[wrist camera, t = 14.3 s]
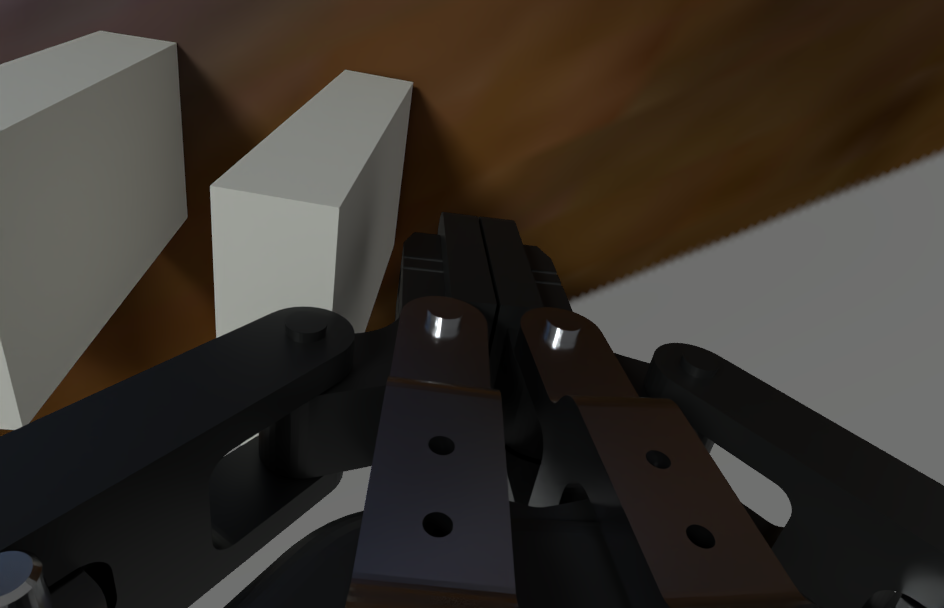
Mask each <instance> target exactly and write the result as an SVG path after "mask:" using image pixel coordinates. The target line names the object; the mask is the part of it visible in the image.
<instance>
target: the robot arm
mask: <svg viewBox="0 0 944 608" xmlns="http://www.w3.org/2000/svg"><path fill="white" fill-rule="evenodd" d="M556 273H557V272H556V270H555V267H554V265H553V262H552V260H551V258H549V257H548V256H547V255H546V254H545V253H544V252H543V251H541V250H540V249H539V248H538V247H537V246H530V245H523V244H522V241H521V238H520V235H519V232H518V229H517V226H516V223H515V221H513V220H505V219H496V218H488V217H479V218H478V217H477V216H471V215H463V214H455V213H447V212H442V213H441V217H440V221H439V227H438V234H437V235H434V234H426V233H417V232H414V233H413V234H412V235H411V236H410V237H409V238H408V239H407V240H406V241H405V242H404V245H403V253H402V261H401V270H400V278H399V286H398V294H397V303H396V319H395V321H394V322H393V323H392V324H390V325H388V326H387V327H384V328H382V329H379V330H375V331H370V332H363V333H354V329H353V326H352V325H351V324H350V322H349V321H348V320H347V319H345V318H344V317H343V316H341V315H339V314H337V313H335V312H333V311H330V310H327V309H322V308H317V307H303V306H302V307H291V308H285V309H281V310H278V311H275V312H273V313H270V314H268V315H266V316H264V317H262V318H259V319H257V320H255V321H253V322H251V323H249V324H246V325H244V326H242V327H240V328H238V329H235V330H233V331H231V332H229V333H227V334H224V335H222V336H220V337H218V338H216V339H213V340H211V341H209V342H207V343H205V344H202V345H200V346H198V347H196V348H194V349H192V350H189V351H187V352H185V353H183V354H181V355H178V356H176V357H174V358H172V359H170V360H167V361H165V362H163V363H161V364H159V365H156V366H154V367H152V368H150V369H148V370H145V371H143V372H141V373H139V374H137V375H135V376H132V377H130V378H128V379H126V380H124V381H121V382H119V383H117V384H115V385H113V386H110V387H108V388H106V389H104V390H102V391H99V392H97V393H95V394H93V395H91V396H88V397H86V398H84V399H82V400H80V401H77V402H75V403H73V404H71V405H69V406H67V407H64V408H62V409H60V410H58V411H56V412H53V413H51V414H49V415H47V416H45V417H42V418H40V419H38V420H36V421H34V422H31V423H29V424H27V425H25V426H23V427H20V428H18V429H16V430H14V431H12V432H10V433H7V434H5V435H3V436H1V437H0V608H188V607H189V606H190V605H191V604H193V603H194V602H195V601H196V600H198V599H199V598H200V597H201V596H203V595H204V594H205V593H206V592H208V591H209V590H210V589H211V588H213V587H214V586H215V585H216V584H217V583H219V582H220V581H221V580H222V579H224V578H225V577H226V576H227V575H229V574H230V573H231V572H232V571H234V570H235V569H236V568H237V567H239V566H240V565H241V564H242V563H244V562H245V561H246V560H247V559H249V558H250V557H251V556H252V555H253V554H254V553H256V552H257V551H258V550H260V549H261V548H262V547H263V546H265V545H266V544H267V543H268V542H270V541H271V540H272V539H273V538H275V537H276V536H277V535H278V534H279V533H281V532H282V531H283V530H284V529H286V528H287V527H288V526H289V525H291V524H292V523H293V522H294V521H295V520H297V519H298V518H299V517H301V516H302V515H303V514H304V513H305V512H307V511H308V510H309V509H310V508H312V507H313V506H314V505H315V504H317V503H318V502H319V501H320V500H322V499H323V498H324V497H325V496H326V495H328V494H329V493H330V492H332V490H334V489H335V488H336V486H337V485H338V484H339V482H340V480H341V478H342V475H343V471H348V470H353V469H358V468H363V467H368V466H372V467H371V473H370V479H369V484H368V490H367V495H366V501H365V506H364V511H361V512H357V513H354V514H350V515H347V516H345V517H342V518H340V519H337V520H335V521H332V522H330V523H328V524H326V525H324V526H322V527H320V528H319V529H317V530H315V531H313V532H312V533H310V534H309V535H307V536H306V537H304V538H303V539H301V540H300V541H298V542H297V543H296V544H294V545H293V546H292V547H291V548H289V549H288V550H287V551H286V552H285V553H283V554H282V555H281V556H280V557H279V558H278V559H277V560H276V561H275V562H273V563H272V564H271V565H270V566H269V567H268V568H267V569H266V570H265V571H263V572H262V573H261V574H260V575H259V576H258V577H257V578H256V579H255V580H254V581H252V582H251V583H250V584H249V585H248V586H247V587H246V588H245V589H244V590H242V591H241V592H240V593H239V594H238V595H237V596H236V597H235V598H234V599H233V600H231V601H230V602H229V603H228V604H227V605H226V606H225V607H224V608H944V486H943V485H941V484H940V483H938V482H936V481H935V480H933V479H931V478H929V477H928V476H926V475H924V474H923V473H921V472H919V471H917V470H916V469H914V468H912V467H910V466H909V465H907V464H905V463H903V462H902V461H900V460H898V459H897V458H895V457H893V456H891V455H890V454H888V453H886V452H884V451H883V450H881V449H879V448H878V447H876V446H874V445H872V444H871V443H869V442H867V441H865V440H864V439H862V438H860V437H858V436H857V435H855V434H853V433H851V432H850V431H848V430H846V429H844V428H843V427H841V426H839V425H838V424H836V423H834V422H832V421H831V420H829V419H827V418H826V417H824V416H822V415H820V414H819V413H817V412H815V411H813V410H812V409H810V408H808V407H806V406H805V405H803V404H801V403H799V402H798V401H796V400H794V399H793V398H791V397H789V396H787V395H786V394H784V393H782V392H781V391H779V390H777V389H775V388H773V387H772V386H770V385H768V384H767V383H765V382H763V381H761V380H760V379H758V378H756V377H755V376H753V375H751V374H749V373H748V372H746V371H744V370H742V369H741V368H739V367H737V366H735V365H734V364H732V363H730V362H729V361H727V360H725V359H723V358H722V357H720V356H718V355H716V354H714V353H712V352H710V351H708V350H705V349H703V348H700V347H697V346H693V345H689V344H683V343H669V344H664V345H662V346H660V347H658V348H657V349H656V351H655V352H654V355H653V358H652V360H651V363H646V362H643V361H639V360H636V359H632V358H629V357H625V356H622V355H619V354H616V353H613V351H612V349H611V348H610V346H609V344H608V343H607V341H606V339H605V337H604V336H603V334H602V332H601V331H600V329H599V328H598V327H597V326H596V325H595V324H594V323H593V322H591V321H590V320H588V319H587V318H585V317H583V316H581V315H579V314H577V313H574V312H573V311H572V309H571V306H570V304H569V301H568V299H567V296H566V294H565V292H564V289H563V287H562V286H561V282H560V279H559V277H558V275H556ZM257 433H259V435H258V436H256V437H255V438H253V439H252V440H250V441H248V442H247V443H245V444H244V445H242V446H240V447H239V448H237V449H236V450H234V451H233V452H231V453H229V454H228V455H226V454H227V453H228V452H229V451H231V450H232V449H233V448H235V447H237V446H238V445H240V444H242V443H243V442H245V441H246V440H248V439H249V438H251V437H253V436H254V435H256V434H257ZM714 443H716V444H717V445H719V446H720V447H722V448H723V449H725V450H726V451H728V452H729V453H731V454H732V455H734V456H735V457H737V458H738V459H740V460H741V461H743V462H744V463H746V464H747V465H749V466H750V467H752V468H753V469H755V470H756V471H758V472H759V473H761V474H762V475H764V476H765V477H767V478H768V479H770V480H771V481H773V482H774V483H775V484H777V485H778V486H779V487H780V488H781V489H782V490H783V491H784V492H785V493H786V494H787V496H788V498H789V500H790V502H791V506H792V514H791V517H790V519H789V521H788V522H787V524H786V526H785V527H778V526H775V525H773V524H771V523H769V522H768V521H766V520H765V519H764V518H762V517H761V516H759V515H758V514H756V513H755V512H754V511H752V510H751V509H749V508H748V507H747V506H745V505H743V504H742V503H741V502H740V501H739V499H738V497H737V496H736V494H735V493H734V491H733V490H732V488H731V486H730V485H729V483H728V482H727V480H726V479H725V477H724V476H723V474H722V473H721V471H720V469H719V468H718V466H717V465H716V463H715V462H714V460H713V459H712V457H711V456H710V454H709V453H710V451H711V449H712V447H713V444H714ZM225 455H226V456H225ZM224 456H225V457H224ZM894 591H896V593H895V592H894Z"/></svg>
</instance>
